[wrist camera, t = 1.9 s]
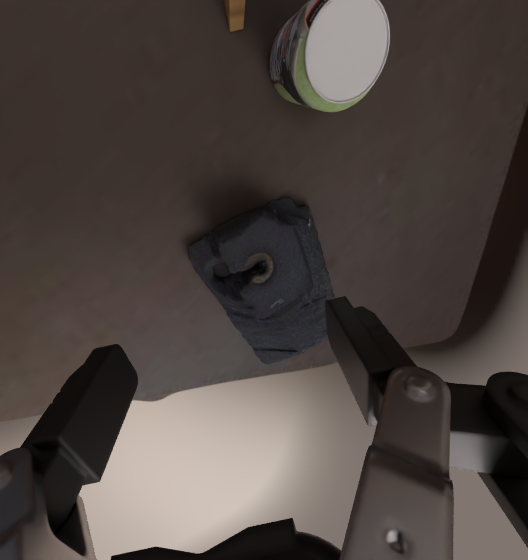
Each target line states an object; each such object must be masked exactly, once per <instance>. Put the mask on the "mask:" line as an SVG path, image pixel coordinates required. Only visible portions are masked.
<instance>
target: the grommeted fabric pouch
mask: <svg viewBox="0 0 528 560" xmlns="http://www.w3.org/2000/svg"><path fill="white" fill-rule="evenodd" d="M209 235H210V236H205V237H202V240H201V241H198V242H195V243H194V244H193V245H190V246H189V247H188V254H189V259H190V261H191V262H192V264H193V267H194V269H195V271H196V272H197V273H198V274H199V275H200V277H201V278H202V280H203V281H204V282H205V284H206V286H207V287H208V288H209V289H210V290H211V292H212V293H213V294H214V295H215V297H216V298H217V299H218V301H219V302H220V303H221V304H222V305H223V306H224V308H225V310H227V315H228V317H230V319H231V321H232V323H233V324H234V326H235V327H236V328H237V329H238V330H239V331H240V332H241V333H242V335H243V337H244V338H245V339H246V340H247V342H248V343H249V344H250V346H251V347H252V348H253V350H254V352H255V354H256V355H257V357H259V358H260V359H261V361H262V362H263V363H265V364H272V363H275V362H278V361H282V360H284V359H287V358H290V357H292V356H295V355H298V354H301V353H303V352H305V351H306V350H308V349H310V348H312V347H314V346H315V345H317V344H319V343H321V342H322V341H324V340H326V339H328V334H327V325H326V314H325V300H330V299H334V294H333V293H332V287H331V283H330V279H329V274H328V272H327V269H326V266H325V261H324V258H323V252H322V249H321V245H320V242H319V241H318V234H317V230H316V229H315V226H314V221H313V217H312V215H311V212H310V208H309V207H308V206H306V205H304V206H302V207H298V206H296V205H295V203H294V202H293V200H292V199H288V198H284V199H281V200H274V201H272V202H268V203H267V205H266V206H265V207H263V208H261V209H260V210H258V211H252V212H247V213H244V214H241V215H239V216H237V217H235V218H233V219H231V220H230V221H227V222H225V223H223V224H221V225H219V226H217V227H216V229H215V230H214V231H210V233H209ZM223 262H225V263H226V265H227V269H228V270H229V271H230V272H231V273H232V274H231V275H229V276H228V277H227V278H224V279H220V278H218V277H217V276H216V275H215V274H214V266H215V265H219V264H221V263H223Z"/></svg>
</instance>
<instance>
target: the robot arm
mask: <svg viewBox="0 0 528 560" xmlns="http://www.w3.org/2000/svg"><path fill="white" fill-rule="evenodd" d="M325 314H326V325H327V334H328V339H329V342H330V345H331V348H332V350H333V352H334V354H335V356H336V359H337V361H338V363H339V365H340V367H341V369H342V371H343V373H344V376H345V378H346V380H347V382H348V384H349V386H350V388H351V391H352V393H353V395H354V397H355V399H356V401H357V404H358V405H359V408H360V410H361V412H362V414H363V416H364V419H365V421H366V423H367V425H368V426H372V425H377V426H376V431H375V434H374V439H373V442H372V445H371V446H369V448H368V450H367V453H366V457H365V460H364V464H363V468H362V472H361V476H360V480H359V484H358V488H357V492H356V496H355V500H354V504H353V508H352V511H351V515H350V520H349V523H348V528H347V531H346V535H345V539H344V543H343V547H342V551H341V550H340V549H338V548H337V547H335V546H334V545H332V544H331V543H330V542H328V541H326V540H324V539H322V538H320V537H318V536H314V535H312V534H308V533H304V532H298V531H296V528H295V524H294V521H293V519H292V518H290V519H285V520H280V521H276V522H271V523H266V524H261V525H256V526H252V527H248V528H246V529H244V530H242V531H241V532H239V533H238V534H235V535H234V536H232V537H230V538H229V539H227V540H225V541H223V542H222V543H220V544H218V545H216V546H214V547H213V548H211V549H210V550H207V551H206V552H204V553H200V554H195V553H190V552H184V551H178V550H172V549H166V548H161V547H152V548H148V549H143V550H138V551H133V552H128V553H124V554H119V555H114V556H112V557H111V560H453V505H454V503H453V502H454V501H453V500H454V498H453V484H452V480H450V477H449V468H455V469H462V470H468V471H475V472H477V473H478V474H479V476H480V477H481V479H482V480H483V482H484V483H485V484H486V486H487V487H488V489H489V491H490V492H491V494H492V495H493V497H494V498H495V499H496V501H497V502H498V504H499V506H500V507H501V508H502V510H503V512H504V513H505V514H506V516H507V517H508V519H509V520H510V522H511V523H512V525H513V526H514V528H515V529H516V531H517V532H518V534H519V535H520V537H521V538H522V540H523V541H524V543H525V544H526V546H527V547H528V375H525V374H521V373H516V372H499V373H496V374H494V375H492V376H491V377H490V378H489V379H488V381H487V384H486V386H482V385H468V384H455V383H448V382H444V381H443V380H442V379H441V378H440V377H439V376H437V375H436V374H434V373H433V372H430V371H429V370H426V369H423V368H420V367H417V366H416V365H415V364H414V362H413V361H412V360H411V358H410V357H409V356H408V355H407V353H406V352H405V351H404V350H403V348H402V347H401V346H400V345H399V344H398V342H397V341H396V340H395V339H394V337H393V336H392V335H391V334H390V333H389V332H388V330H387V329H386V327H385V326H384V325H382V322H381V321H380V320H379V319H378V317H377V316H376V315H375V314H374V313H373V312H371V311H369V310H368V309H366V308H364V307H362V306H361V307H357V308H353V306H352V305H351V303H350V302H349V301H348V299H347V298H346V297H345V296H344V297H339V298H334V299H330V300H325ZM137 385H138V377H137V373H136V371H135V369H134V367H133V366H132V364H131V362H130V361H129V359H128V357H127V356H126V354H125V352H124V351H123V349H122V347H121V346H120V345H118V344H114V345H109V346H105V347H100V348H96V349H94V350H93V351H92V352H91V354H90V355H89V357H88V358H87V360H86V361H85V363H84V364H83V365H82V366H81V367H80V368H78V369H77V370H76V371H75V372H74V373H73V374H72V375H71V376H70V377H69V378H68V380H67V381H66V382H65V384H64V385H63V387H62V388H61V390H60V392H59V393H58V394H57V395H56V397H55V398H54V400H53V403H52V404H50V405H49V407H48V408H47V410H46V411H45V412H44V414H43V415H42V417H41V418H40V420H39V421H38V423H37V424H36V425H35V427H34V428H33V430H32V431H31V433H30V434H29V435H28V437H27V438H26V440H25V441H24V443H23V444H22V445H21V447H20V448H16V449H13V450H10V451H8V452H6V453H4V454H3V455H1V456H0V560H97V559H96V556H95V552H94V548H93V543H92V540H91V534H90V530H89V526H88V521H87V517H86V513H85V508H84V503H83V500H82V498H81V497H80V496H79V495H78V494H79V492H80V490H81V487H82V485H86V484H91V483H96V482H100V480H101V477H102V475H103V472H104V470H105V467H106V465H107V462H108V460H109V457H110V455H111V452H112V450H113V447H114V444H115V442H116V439H117V437H118V434H119V432H120V429H121V427H122V424H123V422H124V419H125V417H126V414H127V411H128V409H129V406H130V404H131V401H132V399H133V396H134V394H135V391H136V389H137Z"/></svg>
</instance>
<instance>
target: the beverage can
mask: <svg viewBox="0 0 528 560" xmlns="http://www.w3.org/2000/svg"><path fill="white" fill-rule="evenodd" d="M389 44H390V29H389V22H388V18H387V14H386V12H385V10H384V7H383V5H382V4H381V2H380V1H379V0H309V1H308V2H307V3H306V4H305V5H304V6H303V7H302V8H301V9H300V10H299V11H298V12H297V13H296V14H295V15H293V16H292V17H291V18H290V19H289V20H288V21H287V22H286V23H285V24H284V25H283V26H282V27H281V28H280V30H279V31H278V32H277V34H276V36H275V38H274V40H273V43H272V46H271V50H270V54H269V71H270V76H271V79H272V82H273V85H274V86H275V88H276V90H277V91H278V93H279V94H280V95H281V96H282V97H283V98H285V99H286V100H288V101H290V102H293V103H296V104H300V105H303V106H306V107H310V108H313V109H317V110H320V111H324V112H337V111H341V110H344V109H347V108H349V107H351V106H353V105H354V104H356V103H357V102H358V101H360V100H361V99H362V98H363V97H364V96H365V95H366V94H367V93H368V92H369V90H370V89H371V87H372V86H373V85H374V83H375V81H376V80H377V78H378V77H379V75H380V73H381V71H382V69H383V67H384V64H385V62H386V58H387V55H388V50H389Z"/></svg>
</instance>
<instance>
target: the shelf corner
mask: <svg viewBox="0 0 528 560" xmlns="http://www.w3.org/2000/svg"><path fill="white" fill-rule="evenodd" d="M245 1H246V0H224V4H225V9H226V14H227V19H228V24H229V29H230V32H232V31H237V30H241V29H243V26H244V13H245Z"/></svg>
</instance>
